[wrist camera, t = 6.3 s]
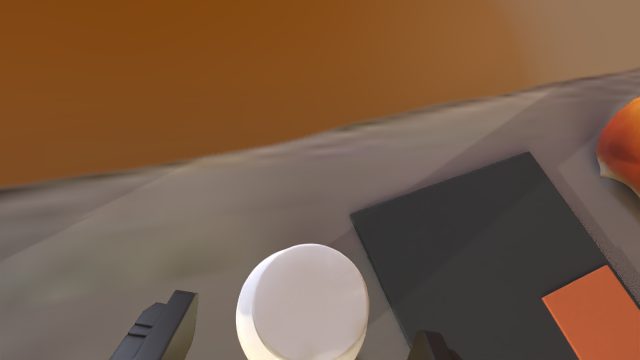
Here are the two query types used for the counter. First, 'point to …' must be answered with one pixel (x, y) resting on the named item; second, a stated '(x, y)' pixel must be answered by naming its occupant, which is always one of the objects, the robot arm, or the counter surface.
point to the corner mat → (499, 269)
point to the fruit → (622, 147)
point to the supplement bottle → (303, 306)
